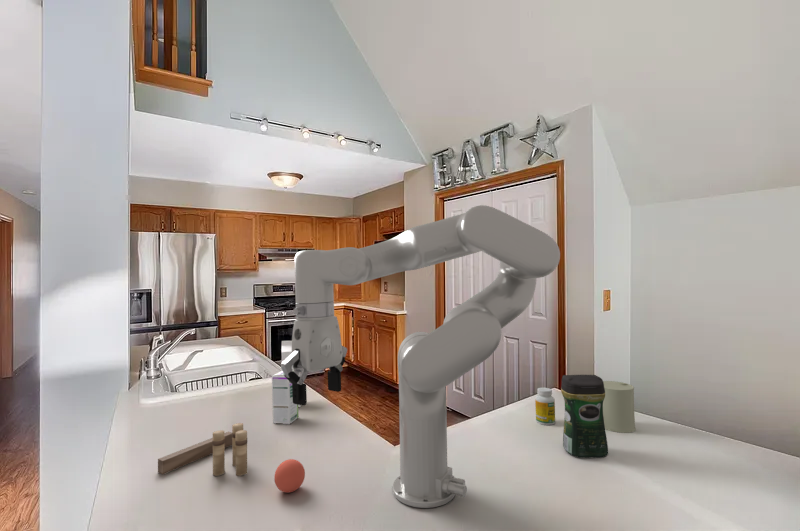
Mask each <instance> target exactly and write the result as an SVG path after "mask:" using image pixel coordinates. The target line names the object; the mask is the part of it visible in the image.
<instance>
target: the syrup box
mask: <svg viewBox="0 0 800 531" xmlns="http://www.w3.org/2000/svg"><path fill="white" fill-rule="evenodd" d="M271 395H272V396H271V397H272V398H271V399H272V401H271V402H272V404H271V405H272V406H271V407H272V424H276V423H283V424H282V425H290V423H291V424H292V423H293V422H294V421H296V420H297V419H298V418H299V408H298V404H294V403H293V395H292V383H289V380H288V379H287V378H286V377H285V376H284V373H283V371H282V370H280V371H279V372H277V373H275V374H273V375H272V376H271Z"/></svg>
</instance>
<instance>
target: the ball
mask: <svg viewBox="0 0 800 531" xmlns="http://www.w3.org/2000/svg"><path fill="white" fill-rule="evenodd" d="M305 474H306V471H305V467H304V465H303V464H302V463H301V462H300V461H299V460H297V459H293V458H288V459H286V460H284V461H283V462H281V463H279V465H278V466H277V467H276V469H275V472H274V475H273V476H274V478H273V479H274V480H273V481H274V483H275V484H274V485H275V486H276V488H277V489H279V491H281V492H283V493H293V492H295V491H297V490H298V489H300V487H301V486H302V485H303V483H304V481H305V477H306V475H305Z"/></svg>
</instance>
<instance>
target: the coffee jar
mask: <svg viewBox="0 0 800 531" xmlns="http://www.w3.org/2000/svg"><path fill="white" fill-rule="evenodd" d="M603 381H604V380H603V378H601V377H600V376H598V375H597V374H563V375H562V378H561V388H560V390H561V394H562V397H563V400H564V421H563V433H562V434H563V436H562V447H563V449H564V451H565V452H566V453H567V454H568V455H570V456H573V457H575V458H579V459H580V458H581V459H601V458H605V457H607V456H608V455H609V444H608V439H607V432H606V429H605V425H604V417H603V401H604V398H605V388H604V383H603Z"/></svg>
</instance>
